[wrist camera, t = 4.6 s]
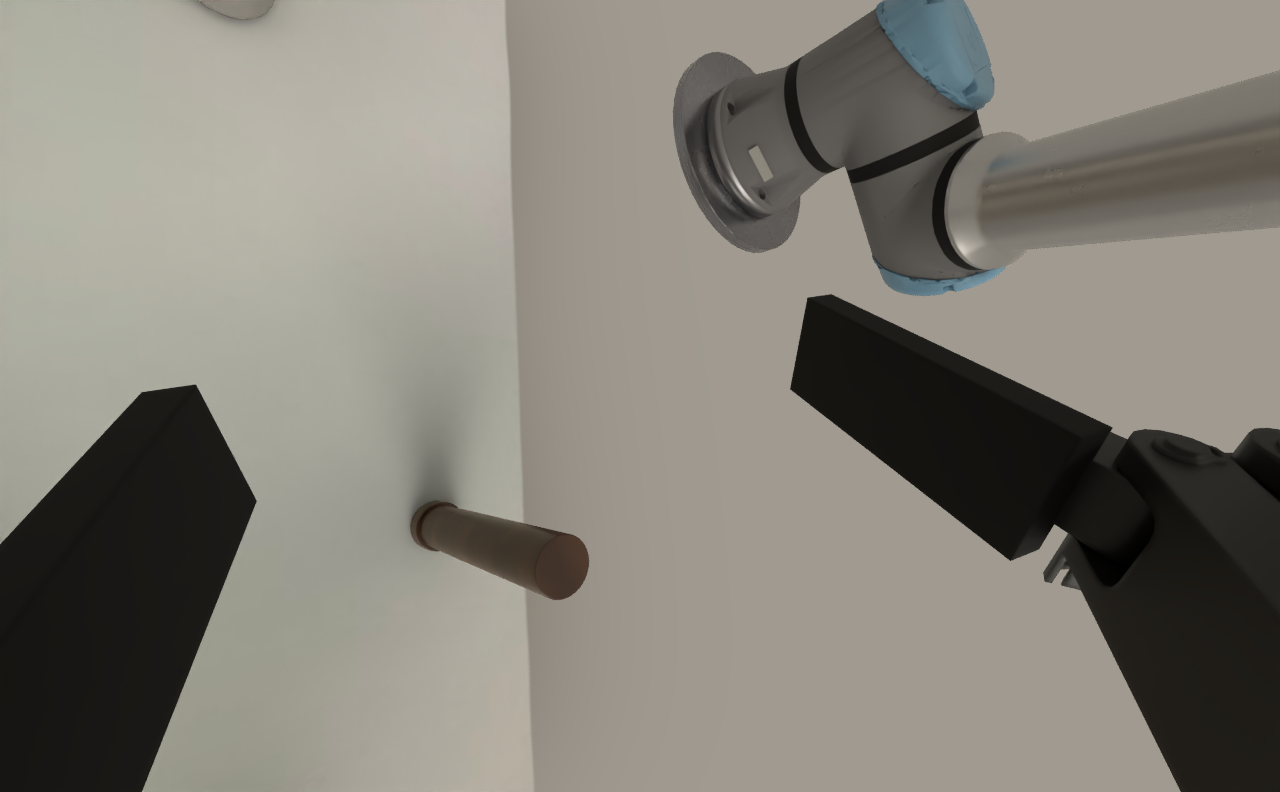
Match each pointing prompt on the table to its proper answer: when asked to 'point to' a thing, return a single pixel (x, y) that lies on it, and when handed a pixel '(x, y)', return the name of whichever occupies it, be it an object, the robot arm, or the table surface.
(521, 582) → the muddler
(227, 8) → the beverage can
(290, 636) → the table surface
